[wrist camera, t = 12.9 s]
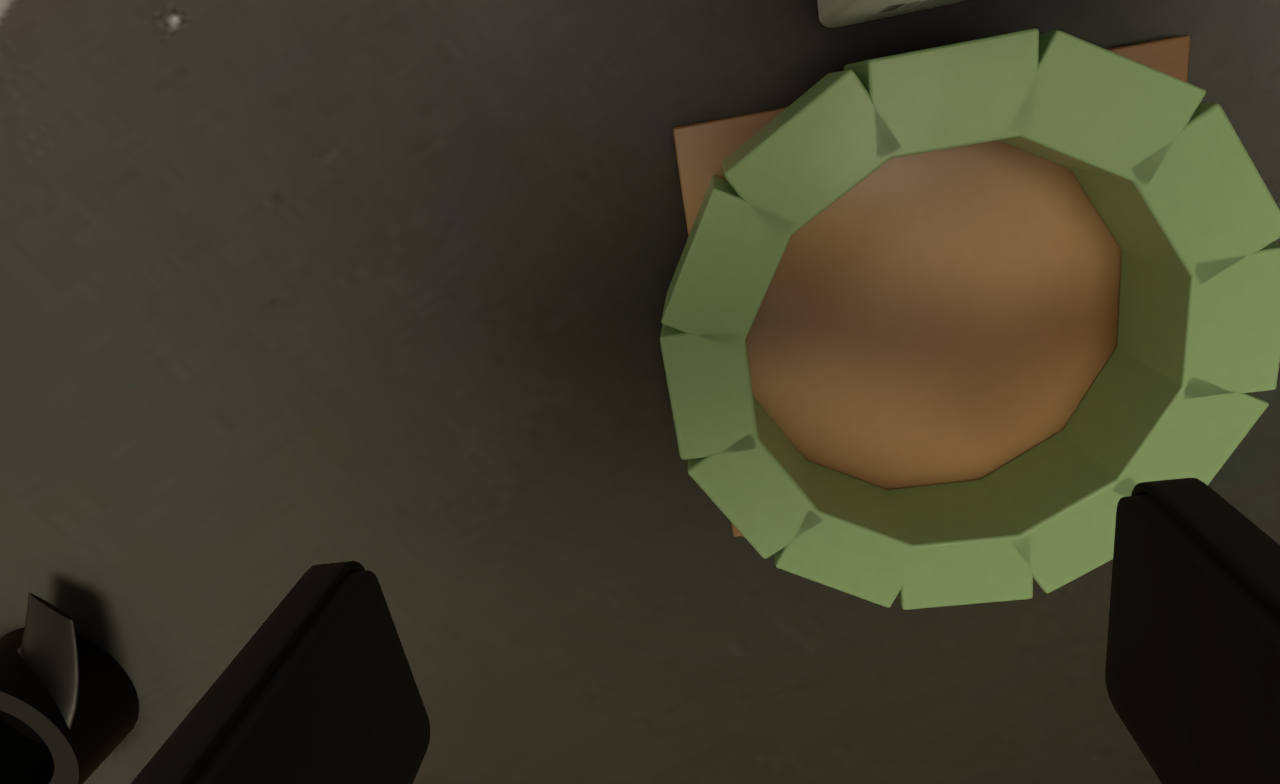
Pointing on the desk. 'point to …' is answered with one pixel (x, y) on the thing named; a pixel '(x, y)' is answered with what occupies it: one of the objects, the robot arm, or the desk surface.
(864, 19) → the ink box
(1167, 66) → the cork mat
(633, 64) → the desk surface
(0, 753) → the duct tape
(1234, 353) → the ring
